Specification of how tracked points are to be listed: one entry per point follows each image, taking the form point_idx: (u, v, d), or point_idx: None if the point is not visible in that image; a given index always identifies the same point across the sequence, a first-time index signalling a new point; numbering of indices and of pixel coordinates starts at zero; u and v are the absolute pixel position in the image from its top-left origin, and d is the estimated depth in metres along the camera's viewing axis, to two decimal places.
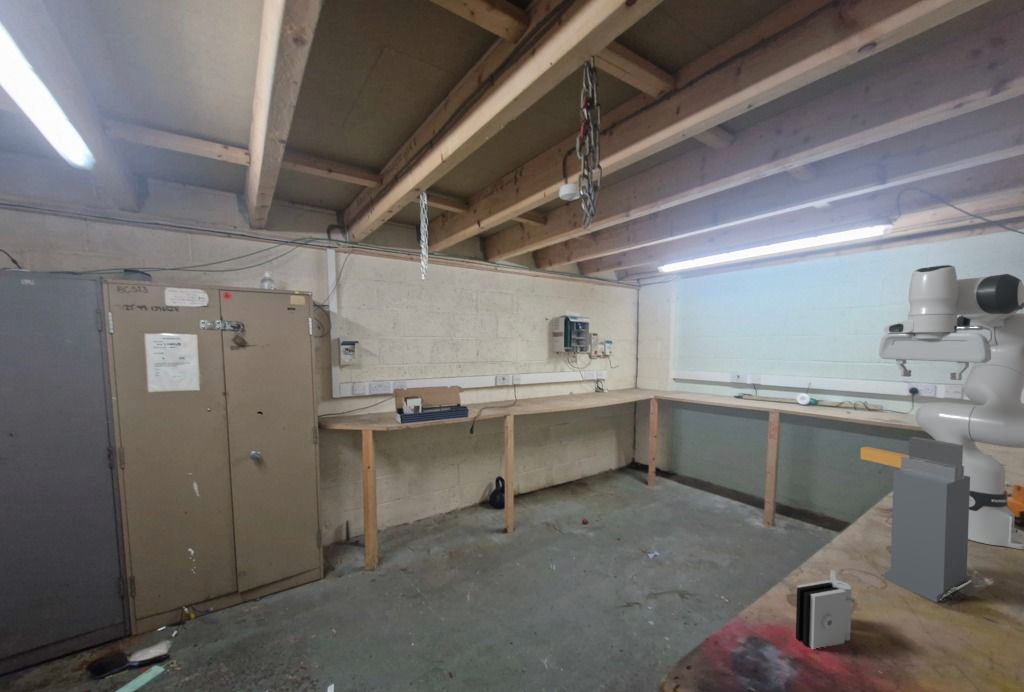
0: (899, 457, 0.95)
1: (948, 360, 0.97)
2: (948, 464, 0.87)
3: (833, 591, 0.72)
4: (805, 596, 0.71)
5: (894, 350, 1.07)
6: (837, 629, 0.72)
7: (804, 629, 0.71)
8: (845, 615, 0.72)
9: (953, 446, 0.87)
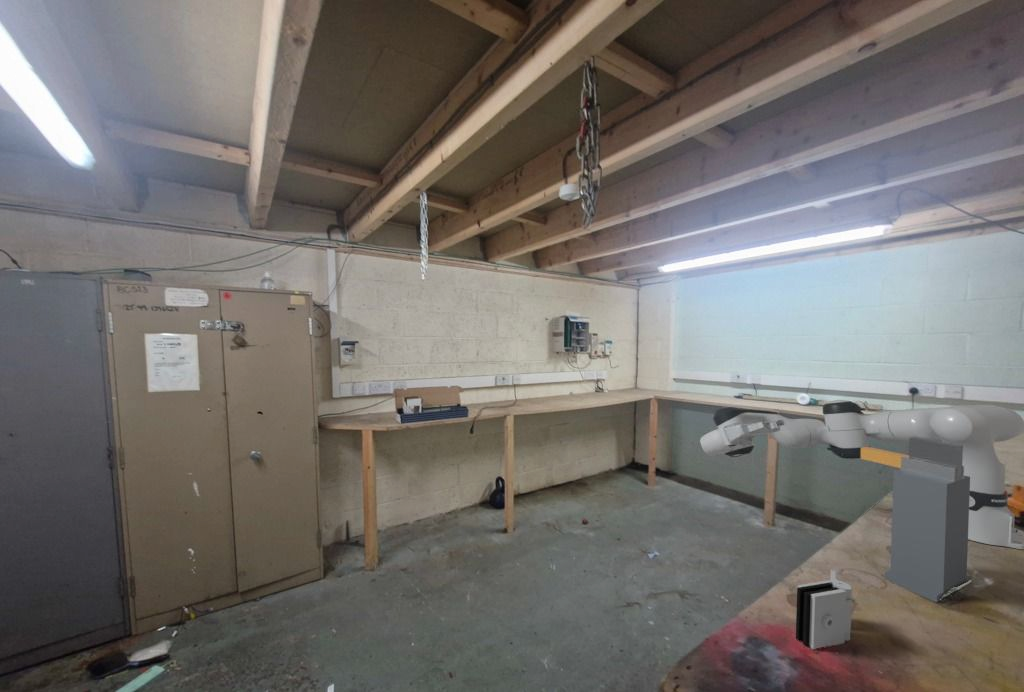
0: (899, 457, 0.95)
1: (765, 422, 1.31)
2: (948, 464, 0.87)
3: (833, 591, 0.72)
4: (805, 596, 0.71)
5: None
6: (837, 629, 0.72)
7: (804, 629, 0.71)
8: (845, 615, 0.72)
9: (953, 446, 0.87)
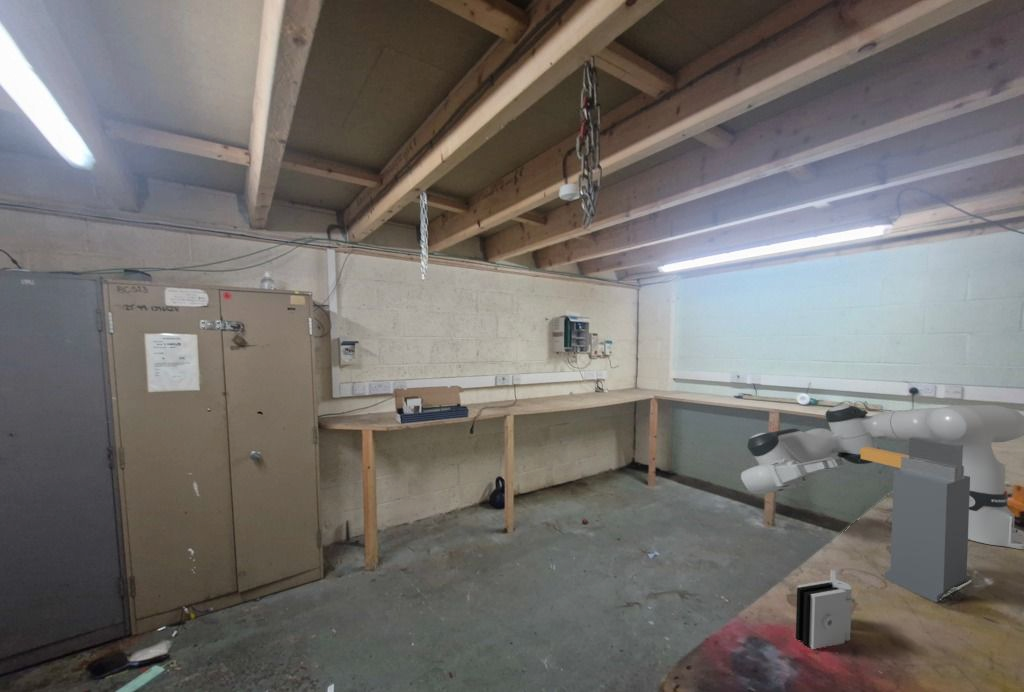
0: (899, 457, 0.95)
1: (821, 459, 1.15)
2: (948, 464, 0.87)
3: (833, 591, 0.72)
4: (805, 596, 0.71)
5: None
6: (837, 629, 0.72)
7: (804, 629, 0.71)
8: (845, 615, 0.72)
9: (953, 446, 0.87)
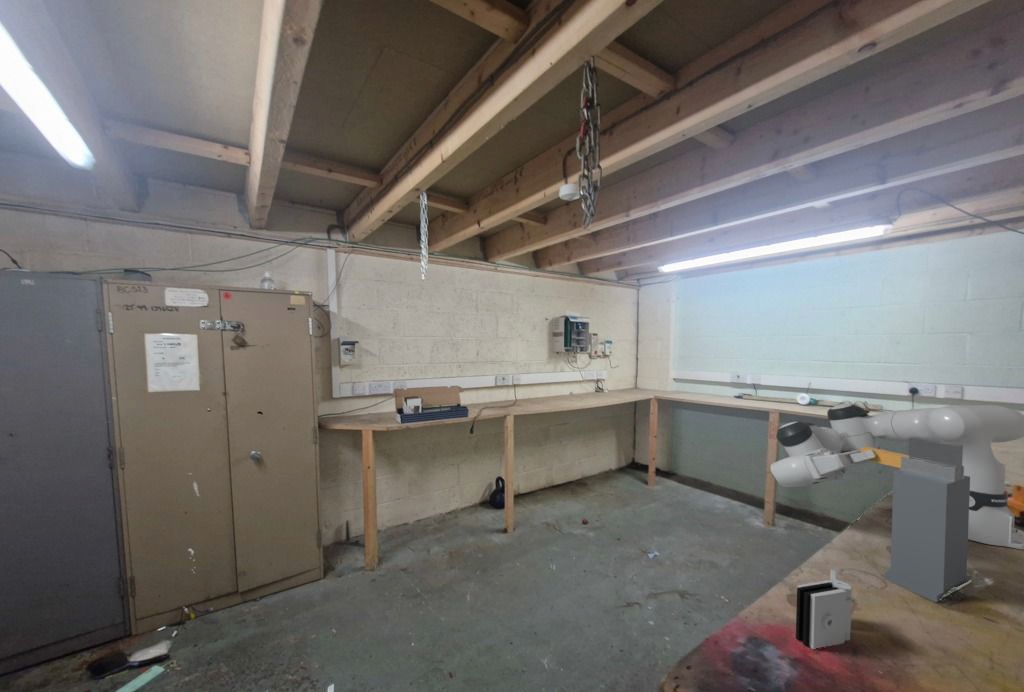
0: (899, 457, 0.95)
1: None
2: (948, 464, 0.87)
3: (833, 591, 0.72)
4: (805, 596, 0.71)
5: None
6: (837, 629, 0.72)
7: (804, 629, 0.71)
8: (845, 615, 0.72)
9: (953, 446, 0.87)
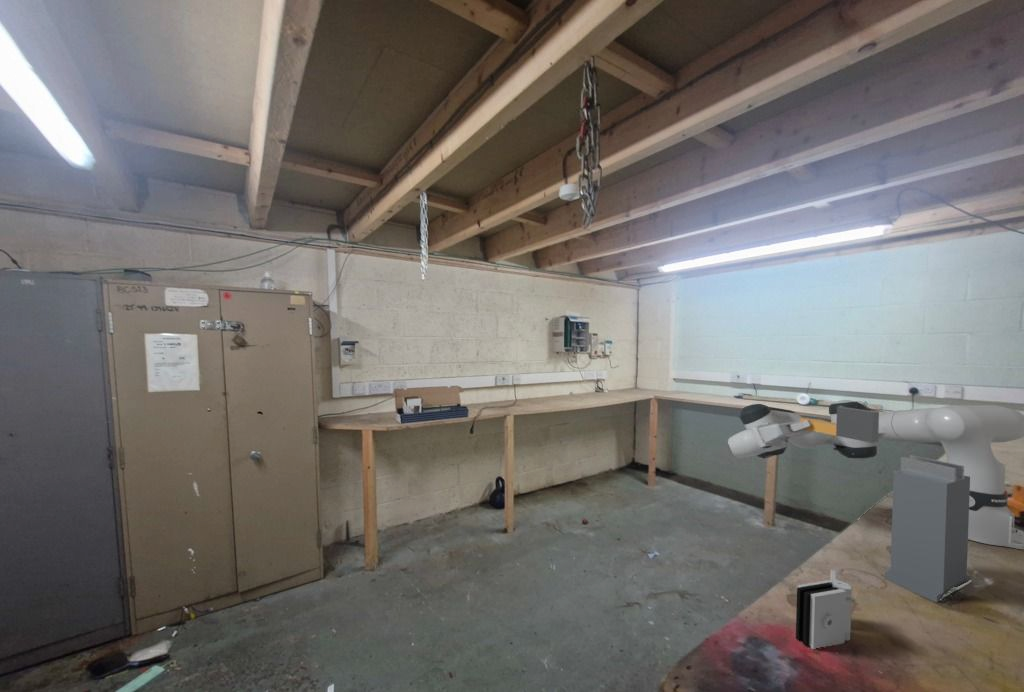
0: (829, 425, 1.09)
1: None
2: (866, 428, 1.01)
3: (833, 591, 0.72)
4: (805, 596, 0.71)
5: None
6: (837, 629, 0.72)
7: (804, 629, 0.71)
8: (845, 615, 0.72)
9: (870, 413, 1.00)
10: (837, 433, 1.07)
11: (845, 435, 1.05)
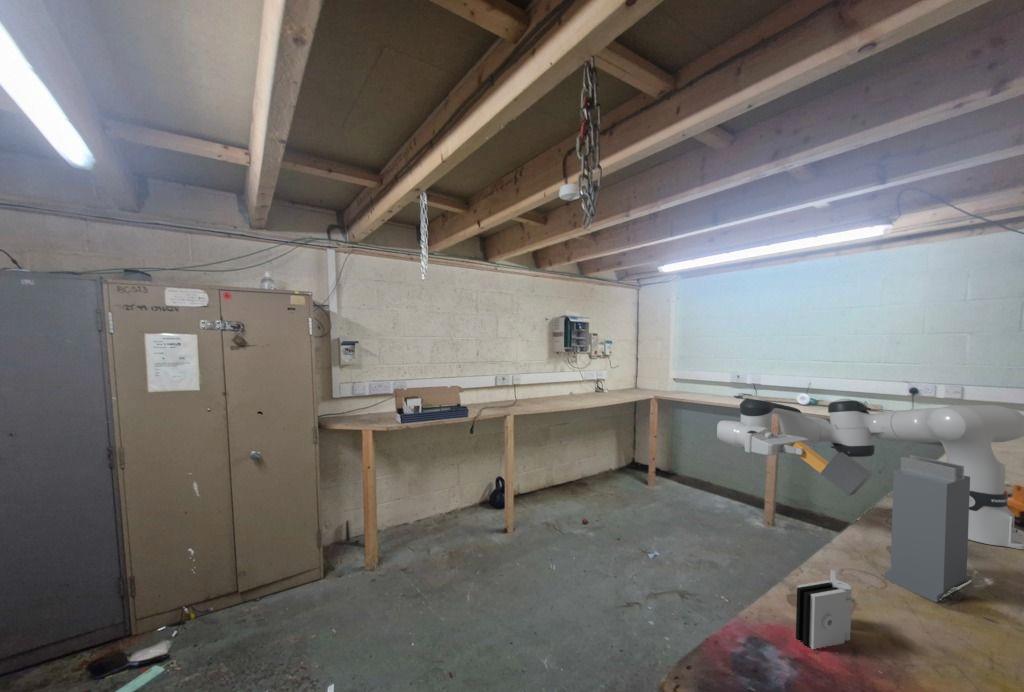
0: (819, 462, 1.11)
1: (797, 440, 1.21)
2: (851, 483, 1.04)
3: (833, 591, 0.72)
4: (805, 596, 0.71)
5: (769, 441, 1.19)
6: (837, 629, 0.72)
7: (804, 629, 0.71)
8: (845, 615, 0.72)
9: (864, 474, 1.02)
10: (822, 472, 1.10)
11: (829, 477, 1.09)
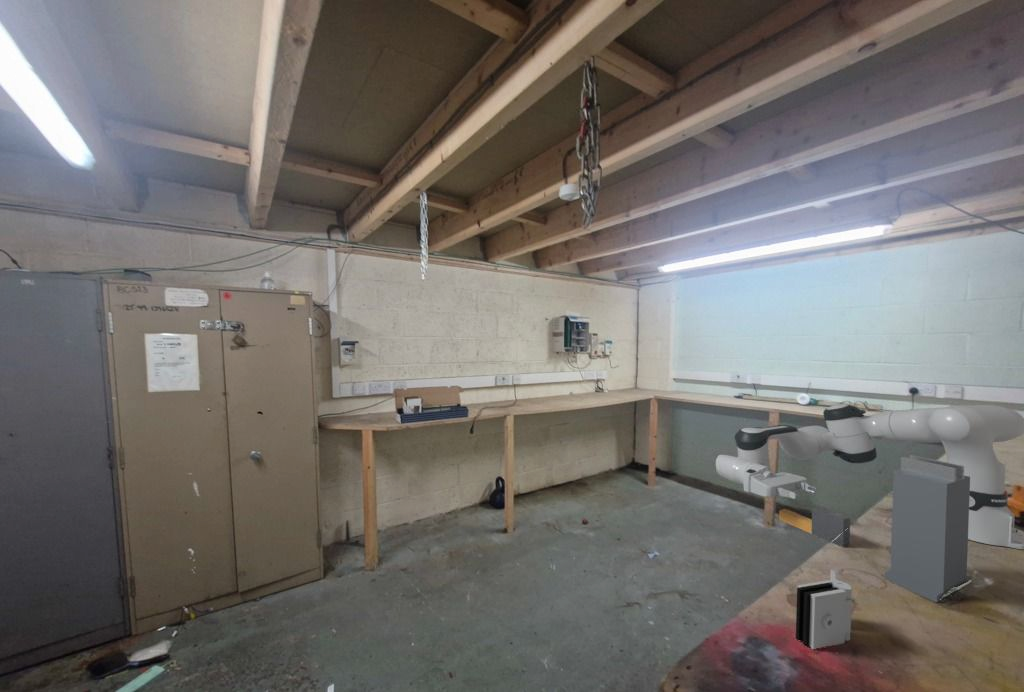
0: (805, 522, 1.15)
1: (796, 480, 1.22)
2: (838, 533, 1.07)
3: (833, 591, 0.72)
4: (805, 596, 0.71)
5: (768, 482, 1.20)
6: (837, 629, 0.72)
7: (804, 629, 0.71)
8: (845, 615, 0.72)
9: (841, 519, 1.06)
10: (812, 532, 1.13)
11: (820, 535, 1.11)
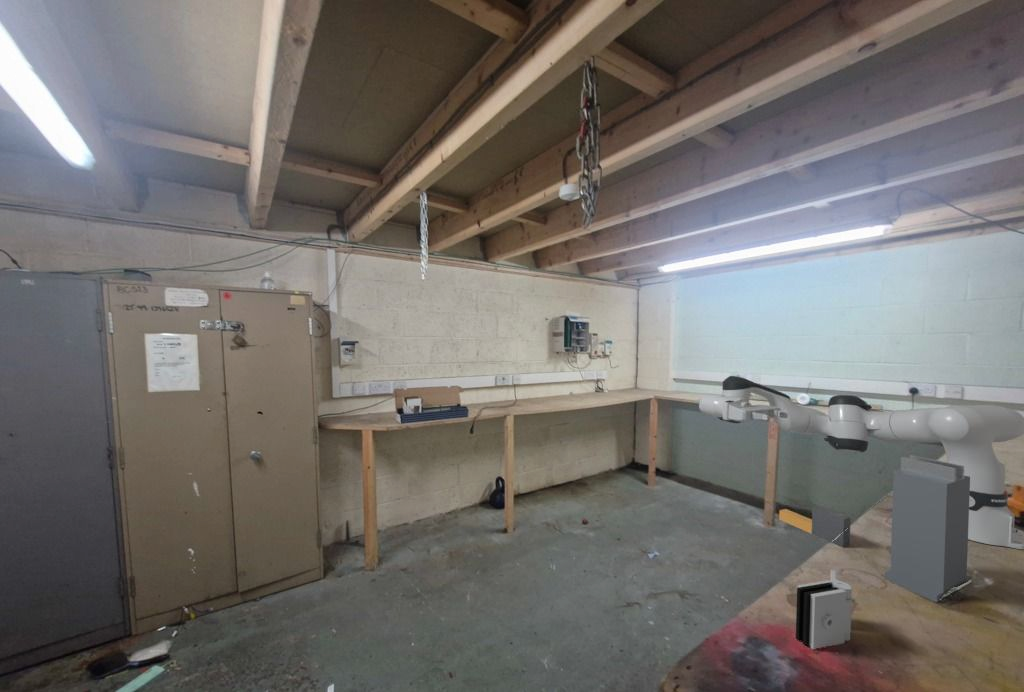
0: (805, 522, 1.15)
1: (770, 408, 1.34)
2: (838, 533, 1.07)
3: (833, 591, 0.72)
4: (805, 596, 0.71)
5: (744, 408, 1.32)
6: (837, 629, 0.72)
7: (804, 629, 0.71)
8: (845, 615, 0.72)
9: (841, 518, 1.06)
10: (812, 531, 1.13)
11: (820, 535, 1.11)
